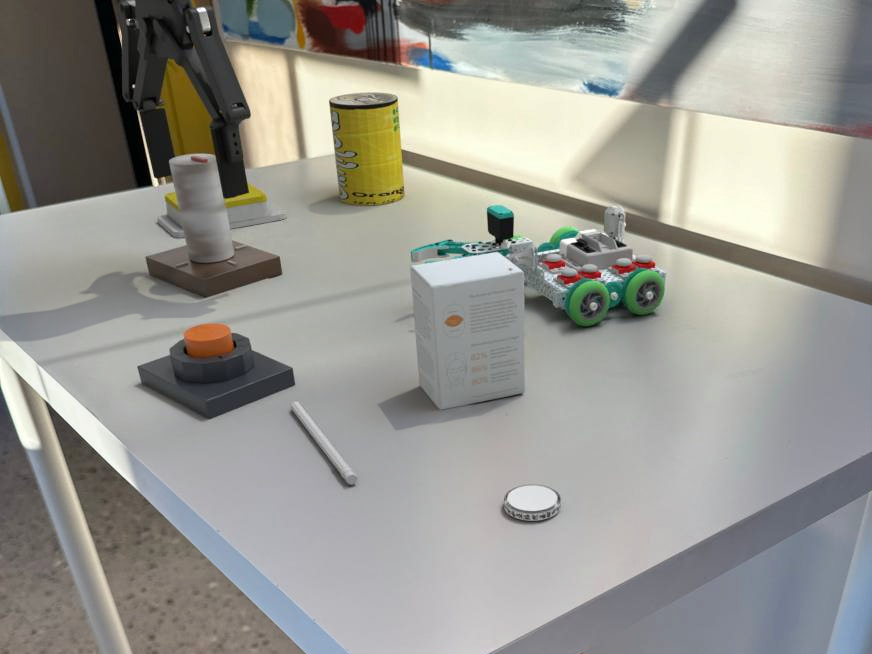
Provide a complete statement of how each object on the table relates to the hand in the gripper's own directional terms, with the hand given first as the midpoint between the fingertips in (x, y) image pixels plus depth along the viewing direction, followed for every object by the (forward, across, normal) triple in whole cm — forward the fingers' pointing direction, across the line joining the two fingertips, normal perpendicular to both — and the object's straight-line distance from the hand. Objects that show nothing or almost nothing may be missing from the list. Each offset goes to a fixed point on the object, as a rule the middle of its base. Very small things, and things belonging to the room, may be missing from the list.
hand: (200, 185), depth 104 cm
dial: (+7, 0, 0) cm, 7 cm away
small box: (+10, -44, +3) cm, 45 cm away
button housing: (+9, -26, +17) cm, 32 cm away
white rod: (+10, -42, +18) cm, 47 cm away
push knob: (+6, -26, +17) cm, 32 cm away
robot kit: (+10, -34, -17) cm, 39 cm away
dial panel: (+9, 0, 0) cm, 9 cm away
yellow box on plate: (+10, +18, -13) cm, 24 cm away
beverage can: (+10, +11, -33) cm, 36 cm away
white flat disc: (+10, -61, +14) cm, 63 cm away
